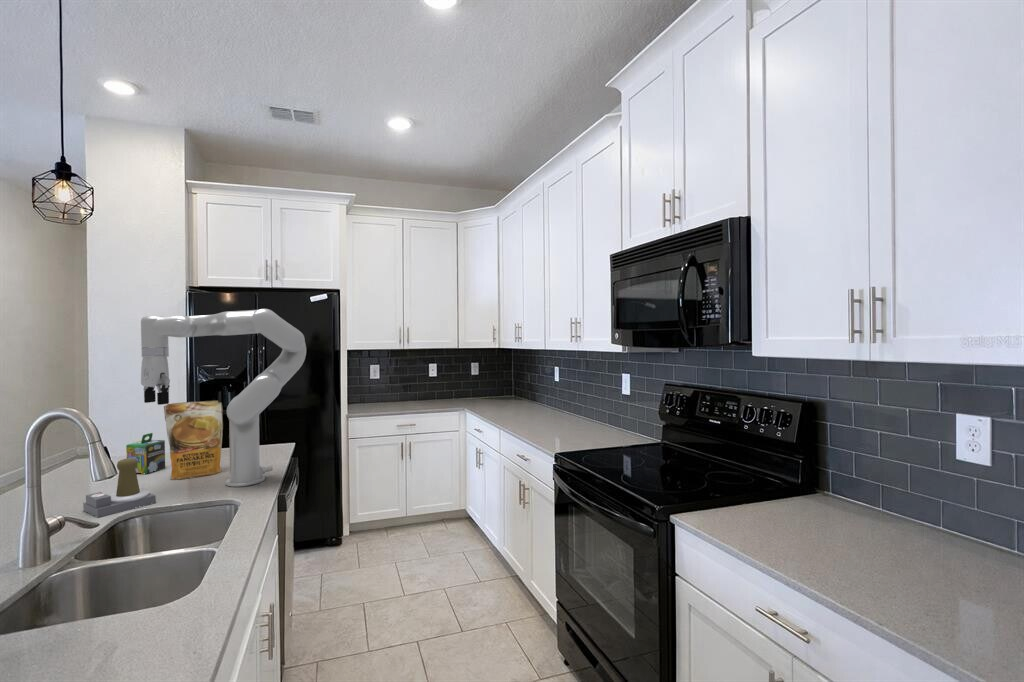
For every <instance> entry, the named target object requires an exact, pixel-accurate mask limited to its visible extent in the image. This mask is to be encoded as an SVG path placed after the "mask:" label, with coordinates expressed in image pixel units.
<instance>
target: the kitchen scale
mask: <svg viewBox="0 0 1024 682" xmlns="http://www.w3.org/2000/svg"><path fill="white" fill-rule="evenodd" d="M139 490H140V492H139V493H138V494H135V495H131V496H125V497H117V496H116V493H117V491H115V492H112V493H110V494H106V493H103V492H101V491H99V492H94V493H90V494H86V495H85V502H83V507H82V508H83V512H85V513H87V512H88V513H87V514H89V513H90V514H89V515H91V514H92V516H93V515H95V516H97V517H98V518H101V517H100V516H102V517H105V516H104V515H106V516H109V515H108V514H110V515H113V513H114V514H117V513H116V512H118V513H121V512H120V511H122V512H124V510H126V511H129V510H128V509H130V510H132V509H131V508H134V509H136V508H135V507H138V508H140V507H139V506H142V507H144V506H143V505H145V506H148V504H149V505H152V504H151V503H153V504H156V503H157V501H156V500H157V496H156V494H154V493H150V490H149V489H148V488H139ZM155 502H156V503H155ZM95 516H94V517H95ZM97 517H96V518H97Z"/></svg>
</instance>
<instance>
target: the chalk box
mask: <svg viewBox="0 0 1024 682" xmlns="http://www.w3.org/2000/svg"><path fill="white" fill-rule="evenodd" d="M147 437H148V439H146V438H147ZM125 448H126V459H127V458H134V459H136V460H137V467H136V468H135V469H136V473H141V474H140V475H148V474H147V473H149V474H151V473H150V472H152V473H154V472H153V471H155V472H157V471H156V470H158V471H160V470H159V469H162V468H165V469H166V440H164V439H153V432H150V433H146V434H143V435H142V438H141V440H139V441H135V442H132V443H128V444H126V447H125ZM162 470H163V469H162ZM143 473H145V474H143Z"/></svg>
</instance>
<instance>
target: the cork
mask: <svg viewBox="0 0 1024 682" xmlns="http://www.w3.org/2000/svg"><path fill="white" fill-rule="evenodd" d="M136 467H137V460H136V459H134V458H127V457H126V458H123V459H120V460H119V461H118V462H117V463H116V469H117V471H118V477H117V478H118V479H117V484H116V485H117V486H116V492H117V493H116V492H115V493H116V496H117V497H125V496H131V495H135V494H138V493H139V492H140V490H139V489H140V486H139V480H138V474H136V469H135V468H136Z"/></svg>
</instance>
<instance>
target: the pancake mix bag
mask: <svg viewBox="0 0 1024 682" xmlns="http://www.w3.org/2000/svg"><path fill="white" fill-rule="evenodd" d="M223 411H224V409H223V403H222V402H219V400H214V399H213V400H205V401H204V400H203V401H188V402H186V401H185V402H184V401H183V402H173V403H168V404H165V405H164V406H163V413H164V420H165V425H166V426H165V427H166V434H167V435H166V436H167V439H168V445H169V457H170V462H171V473H170V477H169V480H177V479H179V480H184V479H183V478H187V479H191V478H190V477H195V478H198V477H197V476H200V477H206V476H205V475H208V476H212V475H211V474H213V475H216V474H218V473H222V469H221V458H222V445H223V430H224V420H223V419H224V418H223V416H224V415H223ZM175 478H176V479H175Z"/></svg>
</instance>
